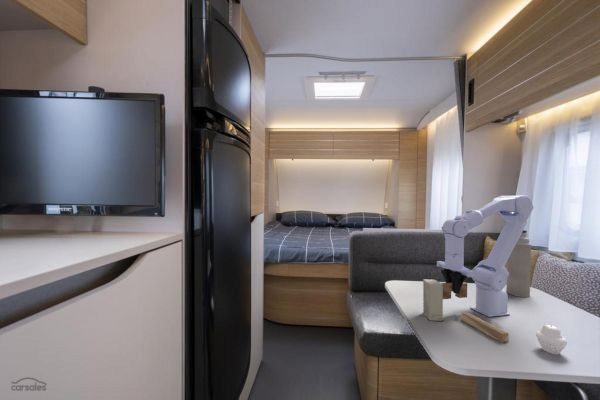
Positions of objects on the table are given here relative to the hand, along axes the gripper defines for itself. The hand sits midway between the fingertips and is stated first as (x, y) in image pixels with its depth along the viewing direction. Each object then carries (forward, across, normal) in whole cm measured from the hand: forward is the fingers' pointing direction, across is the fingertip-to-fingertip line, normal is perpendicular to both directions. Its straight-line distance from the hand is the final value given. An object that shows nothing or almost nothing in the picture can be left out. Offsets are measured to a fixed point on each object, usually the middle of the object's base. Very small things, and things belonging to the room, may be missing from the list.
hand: (453, 291), depth 94 cm
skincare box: (+8, +1, -10) cm, 12 cm away
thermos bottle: (+8, -12, +45) cm, 47 cm away
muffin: (+8, +25, +8) cm, 27 cm away
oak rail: (+8, +12, 0) cm, 14 cm away
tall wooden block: (+2, 0, 0) cm, 2 cm away
